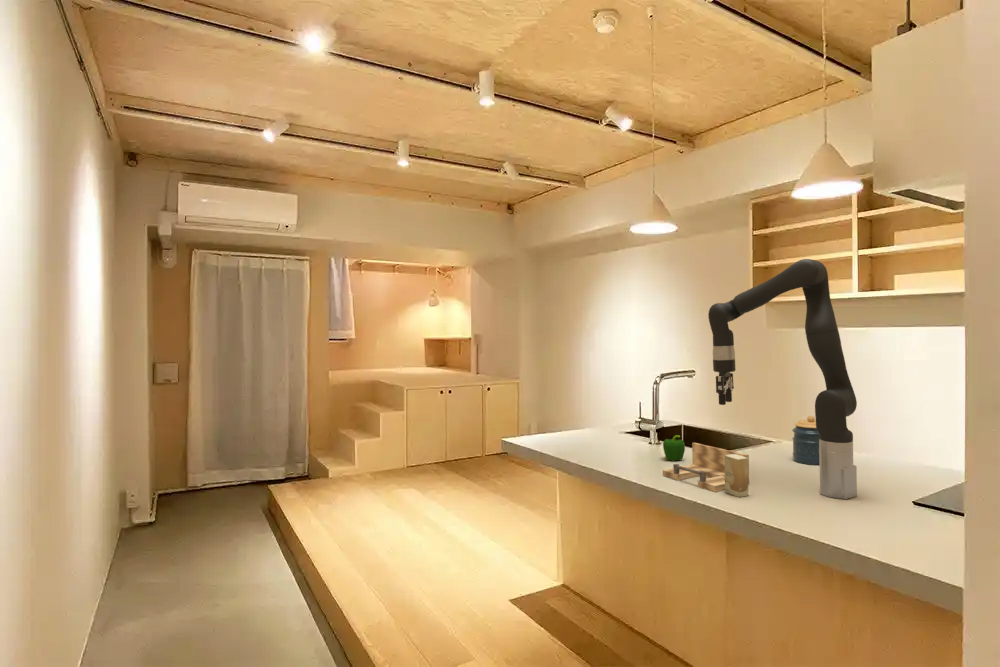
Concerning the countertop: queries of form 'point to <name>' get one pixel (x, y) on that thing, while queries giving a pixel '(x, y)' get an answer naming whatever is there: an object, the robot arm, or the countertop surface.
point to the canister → (806, 442)
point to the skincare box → (736, 475)
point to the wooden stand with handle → (705, 467)
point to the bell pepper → (674, 448)
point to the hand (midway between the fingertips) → (725, 403)
